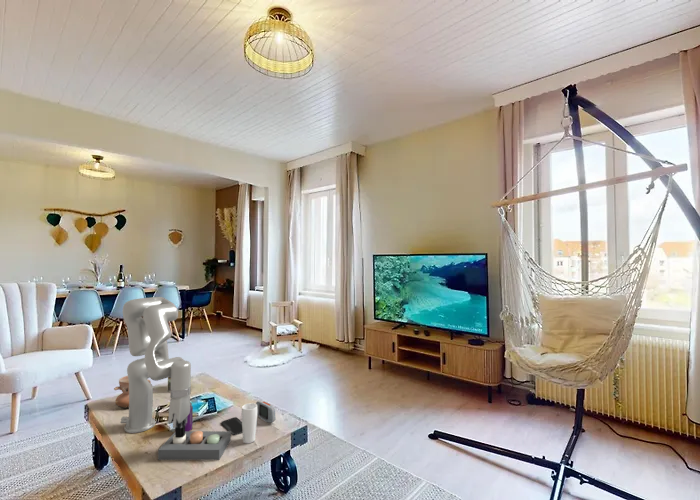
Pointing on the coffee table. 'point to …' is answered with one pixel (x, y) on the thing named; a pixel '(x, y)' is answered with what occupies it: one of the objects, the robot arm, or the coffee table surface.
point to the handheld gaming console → (265, 411)
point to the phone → (233, 425)
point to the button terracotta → (196, 437)
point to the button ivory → (179, 439)
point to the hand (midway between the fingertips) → (180, 436)
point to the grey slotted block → (195, 448)
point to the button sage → (213, 439)
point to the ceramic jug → (124, 397)
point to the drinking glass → (249, 422)
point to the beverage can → (189, 419)
